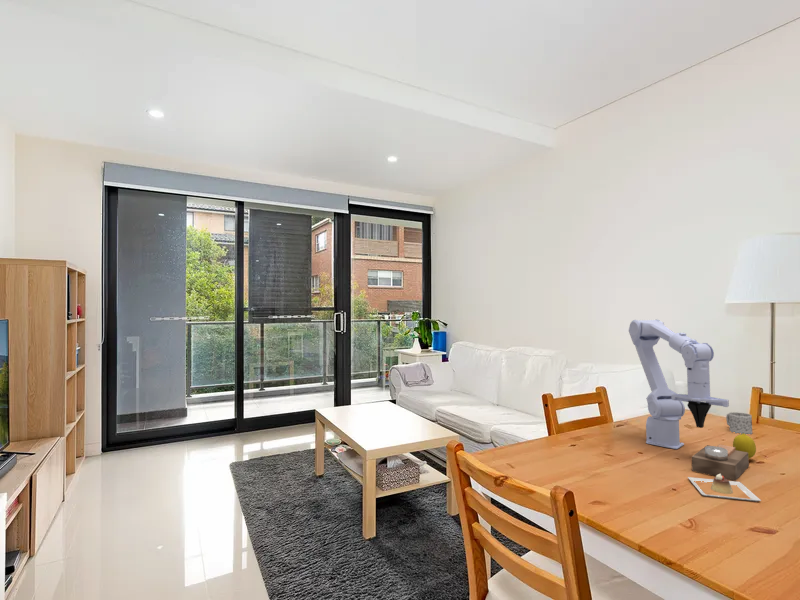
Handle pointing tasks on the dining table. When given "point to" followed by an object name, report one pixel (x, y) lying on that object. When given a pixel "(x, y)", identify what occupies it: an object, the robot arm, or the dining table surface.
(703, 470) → the socket block
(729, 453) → the bar
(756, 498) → the dessert
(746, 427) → the mug
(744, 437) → the lemon
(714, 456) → the silver knob
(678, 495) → the dining table surface
